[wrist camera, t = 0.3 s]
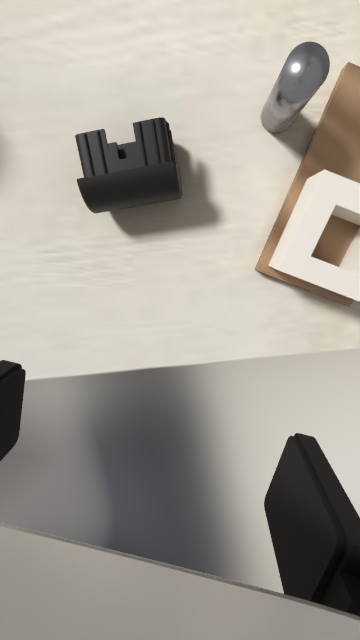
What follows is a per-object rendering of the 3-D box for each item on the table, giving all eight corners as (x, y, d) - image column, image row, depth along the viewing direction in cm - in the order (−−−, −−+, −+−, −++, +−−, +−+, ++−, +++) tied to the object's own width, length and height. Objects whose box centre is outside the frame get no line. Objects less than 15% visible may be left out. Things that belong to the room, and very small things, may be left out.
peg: (269, 92, 33) (296, 34, 24) (298, 104, 33) (337, 51, 24) (255, 126, 34) (277, 83, 25) (284, 138, 34) (316, 100, 25)
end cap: (103, 215, 38) (82, 211, 31) (90, 152, 36) (65, 133, 30) (184, 201, 37) (180, 194, 30) (174, 135, 35) (168, 113, 28)
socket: (307, 178, 34) (324, 169, 29) (391, 212, 34) (422, 208, 29) (268, 265, 36) (278, 270, 32) (346, 295, 37) (368, 304, 32)
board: (341, 69, 32) (348, 62, 31) (446, 112, 33) (458, 107, 31) (254, 269, 38) (256, 270, 37) (344, 303, 39) (349, 306, 37)
